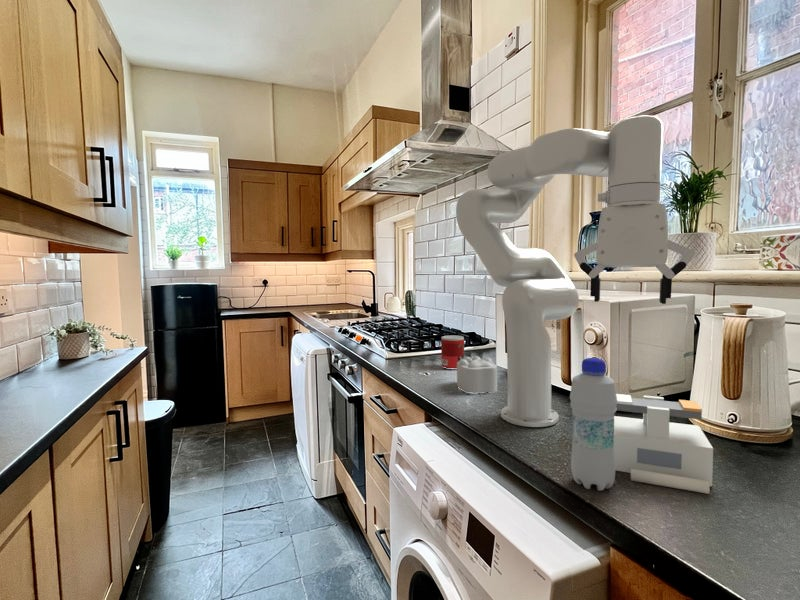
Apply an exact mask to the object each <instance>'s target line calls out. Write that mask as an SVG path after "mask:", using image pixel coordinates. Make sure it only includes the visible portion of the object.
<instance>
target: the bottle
mask: <svg viewBox="0 0 800 600" xmlns="http://www.w3.org/2000/svg"><path fill="white" fill-rule="evenodd" d="M581 372H582V373H579V374H576V375H574V376H572V379H571V385H570V386H571V388H570V394H569V399H570V403H569V406H570V408H571V409H572V414H571V415H572V418H571V419H572V421H571V422H572V423H571V424H572V426H571V427H572V433H571V434H572V440H571V441H572V445H571V457H570V458H571V459H570V468H571V473H572V477H573V481H575V483H576V484H578V485H583V487H584V489H586V490H591V487H592V485H596V490H597V491H598V492H600V491H601V492H602V491H604V490H605V489H610V488H611V487H613V485H614V483H615V478H616V470H615V458H614V416H615V414H616V412H617V411H618V410H617V408H616V405H617V396H616V394H617V391H616V383H615V380H614V379H613V378H611V377H610V376H608V375H605V374H607V373H606V372H607V366H606V362H605V360H603V359H602V358H599V357H586V358H584V359H583V360H582V362H581Z"/></svg>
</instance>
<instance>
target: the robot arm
mask: <svg viewBox="0 0 800 600" xmlns="http://www.w3.org/2000/svg"><path fill="white" fill-rule="evenodd" d="M663 133H664V124H663V122H662V120H661V119H660V118H659V117H657V116H655V115H638V116H631V117H628V118H625V119H622V120H618V122H616V123H615V124H614V125H613V126H612V127H611V129H610V131H599V130H593V129H586V128H585V129H584V128H576V127H573V128H564V129H560V130H556V131H553V132H548V133H545V134H542V135H539V136H538V137H536V138H535V139H534V140H533V142H532V143H531V145H527V146H524V147H521V148H517V149H513V150H508V151H504V152H502V153H499V154H498V155H496V156H495V157H493V158H492V159H491V161H490V162H489V164H488V166H487V170H486V173H487V177H488V178H487V179H488V180H489V181H490V183H491V184H492V185H493V186H494V187H496V188H498V189H493V188H492V189H491V188H489V189H488V188H477V189H476V188H475V189H470V190H468V191H467V190H466V191H465V192H463V193H462V194H461V195H460V196H459V198H458V199H457V202H456V206H455V207H456V208H455V217H456V221H457V225H458V229H459V230H460V233H461V234H462V236H463V237H464V239H465V240H466V241H467V243H468V244H469V245H470V246H471V247H472V249H473V250H474V251H475V252H476V254H477V256H478V258H479V259H480V261H481V263H482V264H483V266H484V268H485V269H486V270H487V272H488V274H489V276H490V277H491V279H492V280H493V281H494V283H495V284H497V285H498V286H500V287H504V288H505V289H503V293H502V297H501V304H502V305H501V306H502V310H503V316H504V320H505V326H506V327H505V330H506V351H507V352H506V356H507V357H506V359H507V361H506V365H507V367H506V369H507V373H506V374H507V378H506V379H507V386H506V387H507V406H504V407H503V408H502V409H501V410H500V417H501V419H503V421H505V420H506V422H507V423H509V424H513V425H516V426H520V427H527V428H545V427H551V426H554V425H555V424H557V423H558V422H559V419H560V418H559V417H560V416H559V414H558V412H557V411H555V410H554V409H552V342H551V337H550V334H549V332H548V330H547V328H546V327H545V325H544V321H555V320H562V319H567V318H570V317H571V316H573V315H574V314H575V313H576V311H577V310H578V308H579V303H580V299H579V298H580V297H579V292H578V290H577V288H576V286H575V285H574V283H573V282H572V280H571V278H570V277H569V276H568V275H567V274H566V272H565V271H564V270H563V268H562V267H561V266H560V264H559V263H558V262H557V260H556V259H555V258H554V256H552V255H551V254H550V252H547V251H546V250H545V249H541V248H539V247H521V246H516V245H515V244H513V242H512V241H511V240H510V239H509V237H508V235H507V234H506V232H504V230H502V229H500V228H499V227H498V226H497V225H494V224H512V223H515V222H517V221H518V220H519V219H521V217H523V215H524V214H526V211H527V210H528V209H529V207H530V206H531V205H532V204H533V202H534V201H535V200H536V198H537V197H538V196H539V194H540V193H541V191H542V190H543V189H544V187H545V186H546V184H548V183H549V182H551V181H552V179H553V178H554V177H555V176H556V175H573V176H586V177H587V176H588V177H596V178H597V177H598V178H606V177H607V190H605V192H603V193H598V194H597V203H598V202H602V203H605V204H606V207H602V208H601V211H600V216H599V220H598V221H599V222H598V227H597V240H596V242H594V243H592V244H590V245H588V246H586V247H584V248H582V249H580V250H578V251H576V252H574V254H573V256H574V259H576V262H577V264H578V265H579V268H580V269H581V270H582V271H583V272H584V273H585V274H586V275H587V276H588V277H589V278H590V294H589V295H590V297H594V299H593V300H594V302H600V300H601V278H600V274H601V273H602V272H603V271H604V269H605V268H653V267H654V268H656V269H657V271H659V272H660V273H661V274H662V277H661V278H660V280H659V281H660V282H659V299H658V300H659V303H660V304H662V305H666V303H667V299H672V284H673V282H672V281H673V278H675V277H676V276H677V275H678V274H679V273H680V272H682V271H683V270H685V269H686V268H687V265H688V264H689V263H690V262H691V260H692V259H693V257H694V256H695V251H694V249H690V248H689V247H686V246H684V245H682V244H679V243H677V242H674V241H671V239H669V225H668V223H669V222H668V214H667V213H668V212H667V208H666V207H667V206H666V204H665V203H661V202H660V200H661V183H662V182H661V180H662V179H661V178H662V161H663V160H662V159H663V158H662V154H663V135H664V134H663ZM669 251H671V252H674V253H677V254H679V255H680V258H679V260H678V261H677V262H676V263H675V264H674V265H673V266H672V267H669V266H668V265H667V264H666V263H667V262H668V255H669ZM593 252H596V254H595V256H596V257H595V258H596V263H597V264H596V265H595V266H594V267H592V266H591V265H589V264H588V262H587V260H586V258H585V257H587V256H588V255H590V254H592V253H593Z"/></svg>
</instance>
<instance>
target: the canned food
mask: <svg viewBox="0 0 800 600" xmlns="http://www.w3.org/2000/svg"><path fill="white" fill-rule="evenodd" d="M440 342H441V343H440V344H441V345H440V346H441V347H440V348H441V351H440V352H441V367H442V366H443V367H446V368H457V363H458V362H459V361H460V360H461V359H464V358H465V338H464V336H463V335H457V334H456V335H454V334H453V335H452V334H451V335H444V336H441V340H440Z"/></svg>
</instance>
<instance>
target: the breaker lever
mask: <svg viewBox="0 0 800 600" xmlns="http://www.w3.org/2000/svg"><path fill="white" fill-rule="evenodd" d="M616 396H617V405H616V408H617V410H616V411H620V412H630V413H637V414H639V413H640V414H643V413H646V414H647V406H650V407H660V408H669V410H670V413H669V417H675V418H683V419H694V420H702V419H703V418H702V417H703V413H702V412H703V409H702V407H701V406H700V405H699V403H698V402H697V401H696V400H695V401H694V400H686V399H678V401H669V400H664V401H661V400H650V399H643V398H640V397H639V398H636V397H632V396H631V394H621V393H616Z"/></svg>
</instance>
